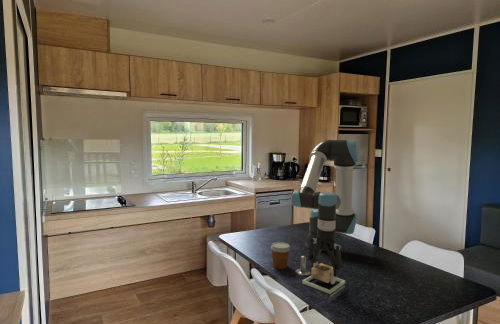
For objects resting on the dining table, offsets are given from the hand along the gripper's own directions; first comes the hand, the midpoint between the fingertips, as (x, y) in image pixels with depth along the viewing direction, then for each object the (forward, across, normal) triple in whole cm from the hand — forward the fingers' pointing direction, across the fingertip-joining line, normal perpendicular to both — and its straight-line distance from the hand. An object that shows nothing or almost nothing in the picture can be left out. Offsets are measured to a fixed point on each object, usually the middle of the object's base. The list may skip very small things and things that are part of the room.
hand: (323, 279), depth 138 cm
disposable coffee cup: (+3, -25, +2) cm, 25 cm away
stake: (+3, -13, +4) cm, 14 cm away
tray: (+3, 0, 0) cm, 3 cm away
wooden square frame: (-1, 0, 0) cm, 1 cm away
